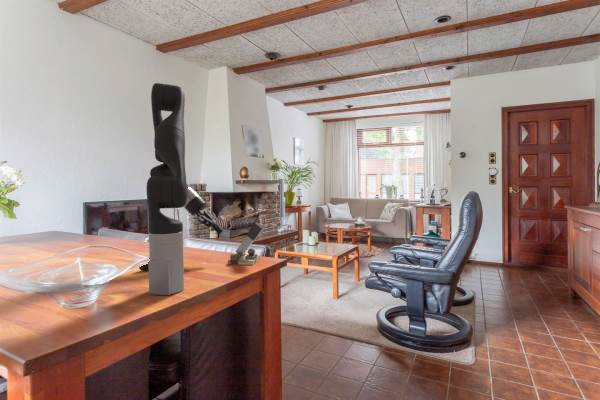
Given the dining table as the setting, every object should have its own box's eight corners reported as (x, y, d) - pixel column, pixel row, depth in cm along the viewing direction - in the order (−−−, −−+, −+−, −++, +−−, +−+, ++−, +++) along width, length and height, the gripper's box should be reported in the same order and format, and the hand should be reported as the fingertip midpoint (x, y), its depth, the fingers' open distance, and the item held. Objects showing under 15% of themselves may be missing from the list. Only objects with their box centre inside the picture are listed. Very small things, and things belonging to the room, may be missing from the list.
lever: (238, 261, 134) (261, 229, 132) (230, 255, 134) (254, 223, 132) (242, 257, 140) (265, 227, 138) (235, 252, 140) (258, 221, 138)
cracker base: (253, 264, 131) (253, 251, 131) (227, 264, 132) (227, 250, 132) (259, 258, 141) (259, 246, 141) (235, 258, 142) (235, 245, 142)
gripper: (190, 195, 131) (221, 228, 130) (204, 194, 144) (233, 223, 143) (177, 209, 132) (208, 241, 131) (192, 206, 145) (221, 236, 144)
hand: (221, 232), depth 137 cm, fingers closed
